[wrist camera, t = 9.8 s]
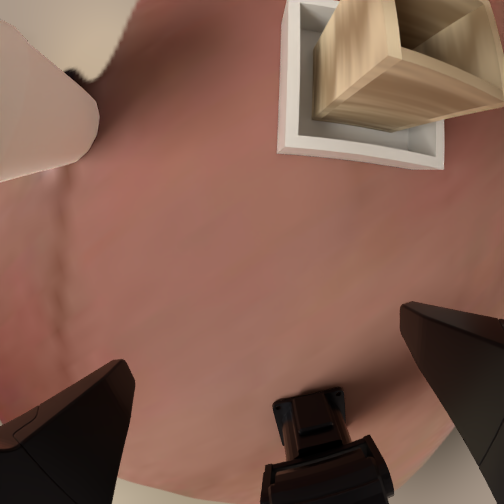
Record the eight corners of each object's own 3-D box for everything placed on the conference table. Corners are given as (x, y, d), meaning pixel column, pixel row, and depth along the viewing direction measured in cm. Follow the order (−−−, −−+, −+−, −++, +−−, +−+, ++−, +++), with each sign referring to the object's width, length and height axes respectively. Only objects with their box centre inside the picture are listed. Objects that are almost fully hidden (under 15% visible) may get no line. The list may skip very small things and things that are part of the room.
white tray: (410, 169, 20) (443, 169, 16) (276, 153, 20) (284, 146, 16) (407, 49, 18) (434, 30, 13) (281, 24, 18) (288, -7, 13)
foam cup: (117, 58, 18) (18, -20, 5) (122, 171, 20) (-8, 173, 7) (26, 94, 18) (-81, 68, 5) (29, 194, 20) (-91, 218, 7)
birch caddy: (391, 132, 19) (511, 105, 7) (311, 120, 19) (388, 55, 7) (389, 65, 18) (489, 1, 6) (312, 49, 17) (371, -53, 6)
